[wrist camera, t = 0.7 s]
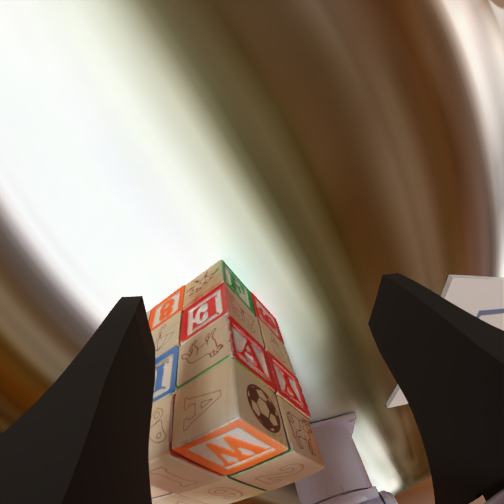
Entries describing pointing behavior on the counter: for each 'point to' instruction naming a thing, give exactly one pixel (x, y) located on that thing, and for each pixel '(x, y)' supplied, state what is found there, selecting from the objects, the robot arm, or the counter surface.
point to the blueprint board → (469, 307)
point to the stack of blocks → (223, 397)
